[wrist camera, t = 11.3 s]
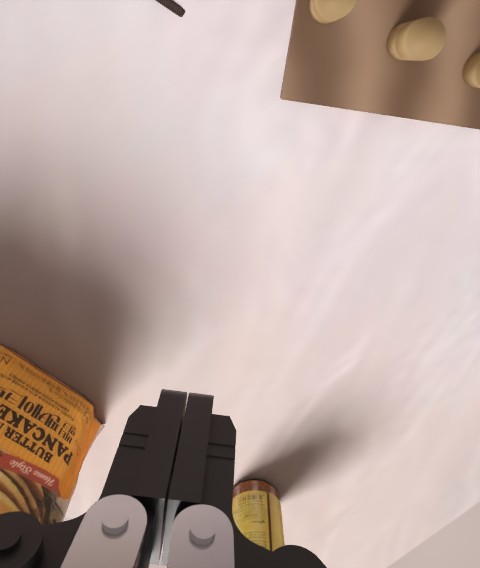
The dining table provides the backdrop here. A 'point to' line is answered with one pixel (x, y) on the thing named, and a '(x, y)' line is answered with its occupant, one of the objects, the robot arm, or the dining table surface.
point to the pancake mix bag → (40, 439)
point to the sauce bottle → (258, 513)
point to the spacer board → (388, 58)
